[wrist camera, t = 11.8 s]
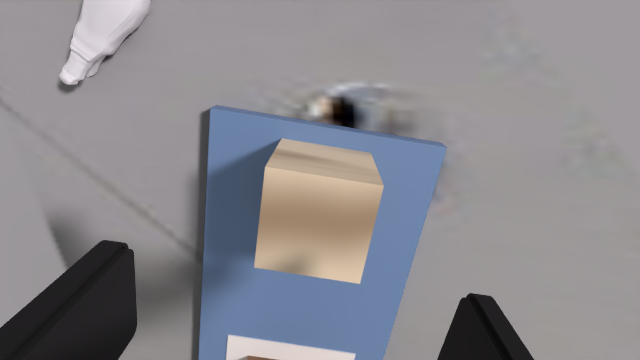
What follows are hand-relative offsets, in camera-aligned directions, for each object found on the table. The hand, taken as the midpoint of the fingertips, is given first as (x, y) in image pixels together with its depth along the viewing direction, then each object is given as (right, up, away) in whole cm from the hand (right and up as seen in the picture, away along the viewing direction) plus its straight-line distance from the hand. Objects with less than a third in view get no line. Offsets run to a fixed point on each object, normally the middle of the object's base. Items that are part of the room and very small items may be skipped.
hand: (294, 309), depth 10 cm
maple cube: (+1, +3, +10) cm, 11 cm away
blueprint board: (-1, -4, +14) cm, 15 cm away
